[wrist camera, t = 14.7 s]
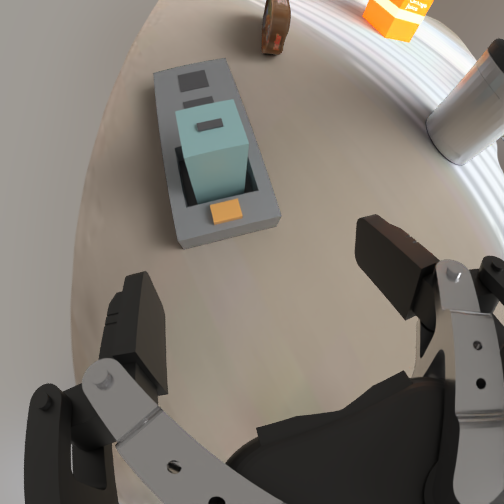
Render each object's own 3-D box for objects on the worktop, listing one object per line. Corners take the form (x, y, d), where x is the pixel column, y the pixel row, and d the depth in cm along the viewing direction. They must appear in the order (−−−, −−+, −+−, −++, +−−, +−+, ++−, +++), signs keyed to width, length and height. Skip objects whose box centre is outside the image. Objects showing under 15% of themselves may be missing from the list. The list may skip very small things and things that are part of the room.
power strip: (157, 88, 30) (152, 69, 26) (225, 74, 31) (225, 54, 27) (183, 249, 25) (176, 239, 22) (276, 226, 27) (282, 213, 23)
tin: (262, 18, 35) (266, -18, 27) (280, 20, 35) (286, -16, 27) (260, 64, 32) (267, 17, 23) (283, 66, 32) (293, 20, 24)
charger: (232, 157, 28) (233, 97, 19) (243, 195, 27) (249, 142, 18) (189, 167, 27) (174, 109, 18) (198, 206, 26) (183, 156, 17)
